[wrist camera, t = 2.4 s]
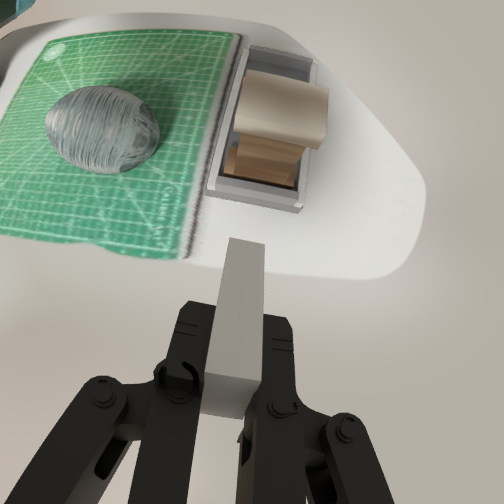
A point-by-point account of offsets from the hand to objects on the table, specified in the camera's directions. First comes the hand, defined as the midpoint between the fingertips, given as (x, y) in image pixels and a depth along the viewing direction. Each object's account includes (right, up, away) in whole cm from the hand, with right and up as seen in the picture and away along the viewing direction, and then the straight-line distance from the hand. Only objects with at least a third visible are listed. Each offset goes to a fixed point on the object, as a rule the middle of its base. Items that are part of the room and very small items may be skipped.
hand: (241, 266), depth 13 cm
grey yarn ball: (-16, +13, +18) cm, 28 cm away
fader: (+1, +9, +17) cm, 19 cm away
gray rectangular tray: (+2, +15, +20) cm, 26 cm away
